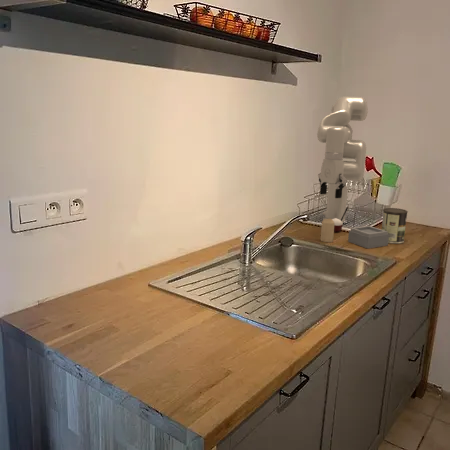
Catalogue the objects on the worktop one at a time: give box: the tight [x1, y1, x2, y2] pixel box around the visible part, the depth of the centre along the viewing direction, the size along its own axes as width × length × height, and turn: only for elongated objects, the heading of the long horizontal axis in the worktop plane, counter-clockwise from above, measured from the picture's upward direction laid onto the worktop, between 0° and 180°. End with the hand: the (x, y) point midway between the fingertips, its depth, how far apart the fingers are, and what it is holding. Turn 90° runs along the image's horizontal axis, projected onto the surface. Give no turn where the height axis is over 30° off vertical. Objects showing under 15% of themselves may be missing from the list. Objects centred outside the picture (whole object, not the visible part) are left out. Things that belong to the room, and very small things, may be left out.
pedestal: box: [347, 225, 389, 249], centre depth 219 cm, size 12×12×6 cm
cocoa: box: [332, 206, 349, 233], centre depth 237 cm, size 10×6×12 cm, turn 61°
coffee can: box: [381, 207, 409, 244], centre depth 224 cm, size 10×10×14 cm
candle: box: [320, 218, 335, 243], centre depth 221 cm, size 6×6×10 cm
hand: (330, 195), depth 217 cm, fingers open, 9 cm apart
